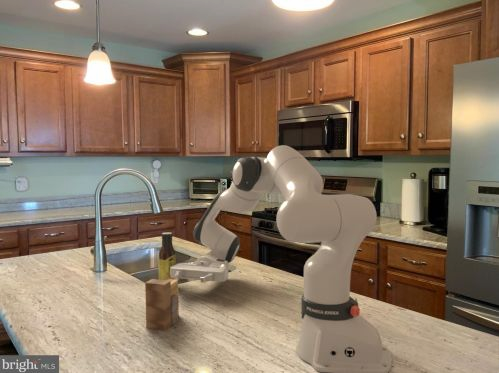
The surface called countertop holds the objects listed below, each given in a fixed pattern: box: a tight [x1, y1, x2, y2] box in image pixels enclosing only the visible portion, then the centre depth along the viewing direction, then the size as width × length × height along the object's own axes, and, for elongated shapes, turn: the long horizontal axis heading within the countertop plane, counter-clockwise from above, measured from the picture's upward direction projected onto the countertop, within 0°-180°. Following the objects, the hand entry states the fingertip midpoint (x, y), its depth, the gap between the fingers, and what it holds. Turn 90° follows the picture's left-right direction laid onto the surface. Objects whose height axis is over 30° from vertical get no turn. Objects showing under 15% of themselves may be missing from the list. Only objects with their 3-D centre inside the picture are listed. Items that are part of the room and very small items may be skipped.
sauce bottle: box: [158, 232, 177, 280], centre depth 148 cm, size 7×6×20 cm
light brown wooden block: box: [167, 279, 180, 317], centre depth 118 cm, size 3×6×11 cm, turn 163°
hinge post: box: [144, 278, 178, 331], centre depth 114 cm, size 7×6×13 cm
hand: (189, 278), depth 131 cm, fingers open, 8 cm apart
